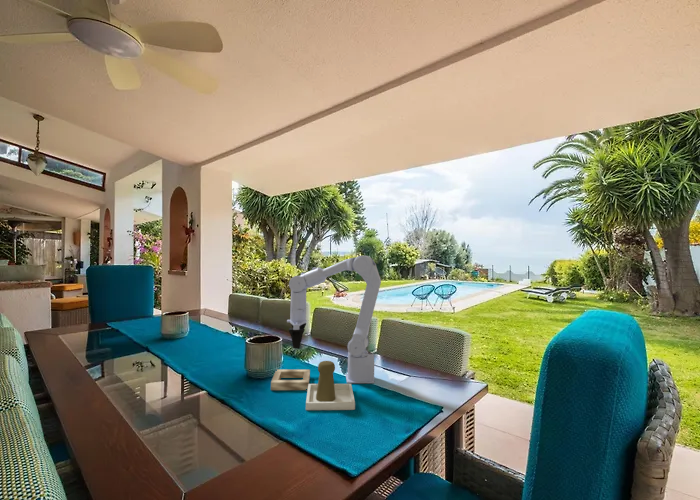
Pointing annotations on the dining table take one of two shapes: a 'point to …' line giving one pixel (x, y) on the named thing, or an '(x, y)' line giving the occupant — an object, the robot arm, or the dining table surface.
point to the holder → (290, 384)
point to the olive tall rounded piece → (326, 382)
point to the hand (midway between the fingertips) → (297, 345)
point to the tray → (340, 403)
